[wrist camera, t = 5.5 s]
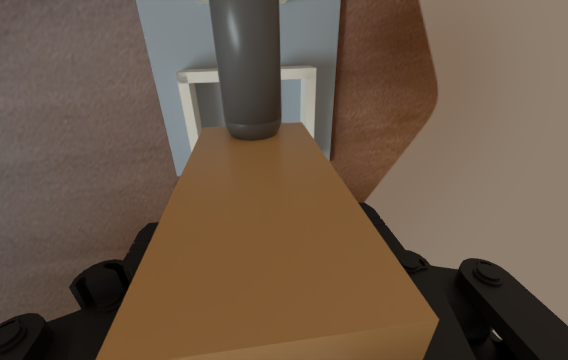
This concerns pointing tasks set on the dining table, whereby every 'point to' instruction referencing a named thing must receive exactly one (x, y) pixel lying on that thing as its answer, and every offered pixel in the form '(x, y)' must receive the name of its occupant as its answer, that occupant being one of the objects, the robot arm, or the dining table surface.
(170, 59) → the board
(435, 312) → the robot arm
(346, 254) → the plug
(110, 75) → the dining table surface
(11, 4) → the dining table surface
